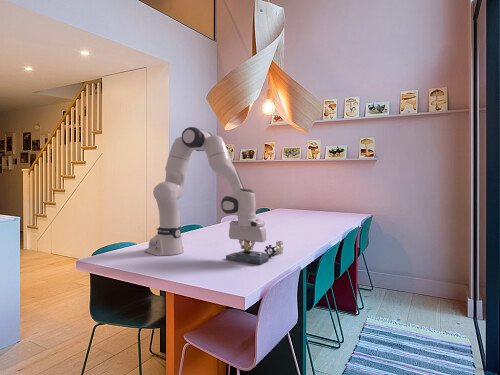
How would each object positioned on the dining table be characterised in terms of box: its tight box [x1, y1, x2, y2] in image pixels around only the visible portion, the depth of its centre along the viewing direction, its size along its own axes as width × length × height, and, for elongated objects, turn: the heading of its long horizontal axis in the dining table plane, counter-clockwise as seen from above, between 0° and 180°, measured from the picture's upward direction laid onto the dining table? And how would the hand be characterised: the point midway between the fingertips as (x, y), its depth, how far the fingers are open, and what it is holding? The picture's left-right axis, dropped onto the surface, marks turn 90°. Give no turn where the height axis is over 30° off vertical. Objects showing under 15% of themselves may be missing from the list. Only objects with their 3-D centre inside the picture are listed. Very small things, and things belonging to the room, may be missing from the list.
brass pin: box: [243, 238, 251, 254], centre depth 168 cm, size 4×4×9 cm
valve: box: [264, 240, 284, 259], centre depth 178 cm, size 7×7×12 cm
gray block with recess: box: [225, 249, 269, 266], centre depth 168 cm, size 20×8×5 cm, turn 57°
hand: (247, 249), depth 168 cm, fingers closed on brass pin, 3 cm apart
